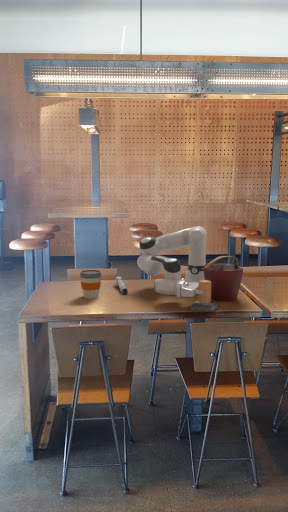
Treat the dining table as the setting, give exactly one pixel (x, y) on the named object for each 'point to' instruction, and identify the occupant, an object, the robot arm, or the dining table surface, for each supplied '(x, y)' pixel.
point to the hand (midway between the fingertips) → (206, 290)
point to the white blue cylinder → (121, 285)
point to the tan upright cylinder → (207, 287)
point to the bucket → (224, 279)
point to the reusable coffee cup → (90, 283)
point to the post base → (204, 306)
